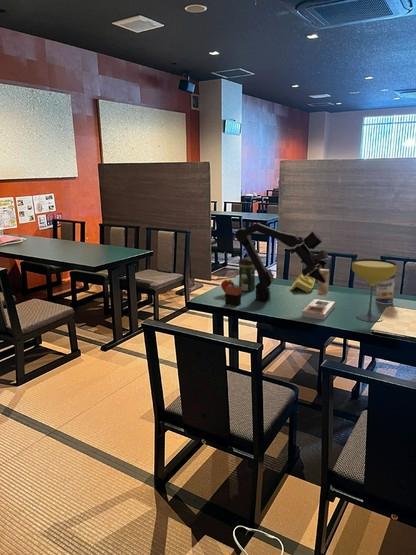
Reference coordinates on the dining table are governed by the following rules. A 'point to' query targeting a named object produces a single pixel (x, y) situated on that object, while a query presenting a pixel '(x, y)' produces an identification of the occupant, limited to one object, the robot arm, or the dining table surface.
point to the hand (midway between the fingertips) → (326, 281)
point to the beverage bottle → (385, 290)
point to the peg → (324, 286)
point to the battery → (233, 295)
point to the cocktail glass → (373, 278)
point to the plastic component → (303, 283)
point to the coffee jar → (246, 274)
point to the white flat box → (318, 309)
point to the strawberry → (226, 284)
